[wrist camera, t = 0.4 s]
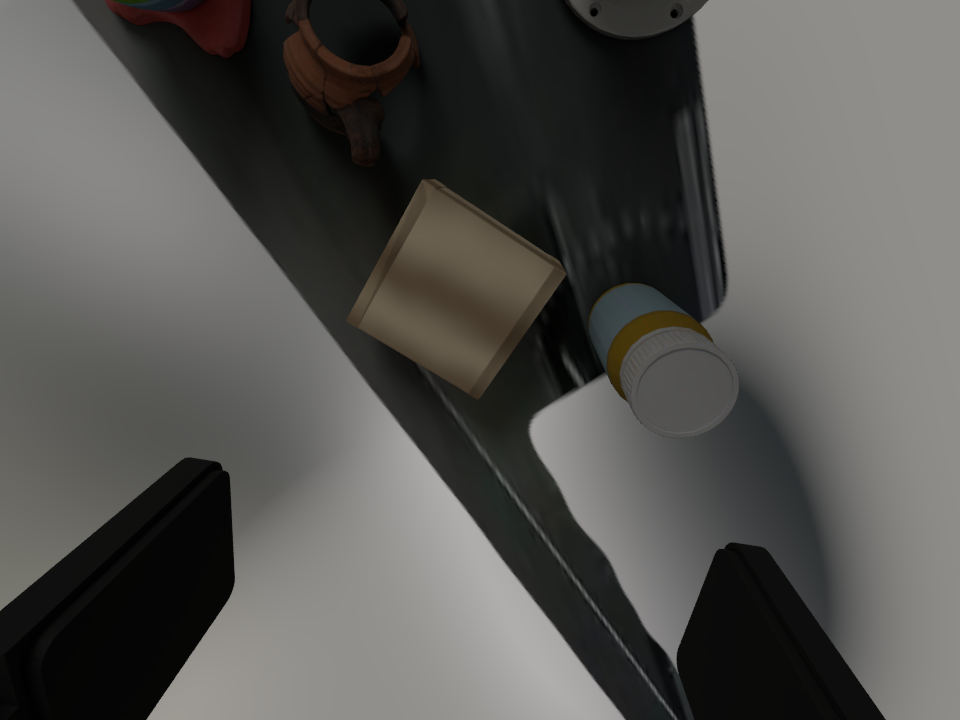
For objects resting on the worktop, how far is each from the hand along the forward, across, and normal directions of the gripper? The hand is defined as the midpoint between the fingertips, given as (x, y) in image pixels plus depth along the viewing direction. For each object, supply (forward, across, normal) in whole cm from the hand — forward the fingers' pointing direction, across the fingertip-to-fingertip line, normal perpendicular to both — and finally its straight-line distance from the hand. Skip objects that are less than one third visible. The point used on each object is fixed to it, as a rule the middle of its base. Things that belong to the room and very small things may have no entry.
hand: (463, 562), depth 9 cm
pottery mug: (+34, +13, -12) cm, 38 cm away
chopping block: (+34, +3, +2) cm, 34 cm away
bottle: (+34, -12, +3) cm, 36 cm away
